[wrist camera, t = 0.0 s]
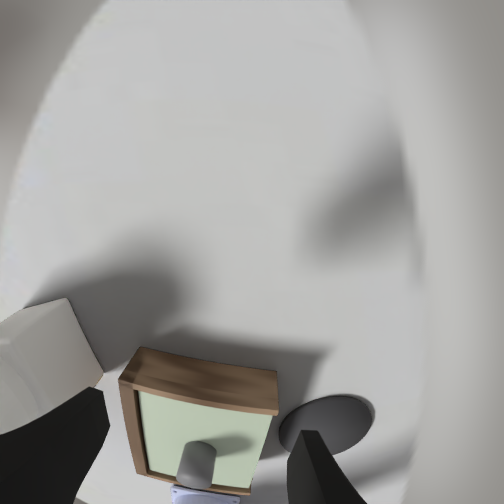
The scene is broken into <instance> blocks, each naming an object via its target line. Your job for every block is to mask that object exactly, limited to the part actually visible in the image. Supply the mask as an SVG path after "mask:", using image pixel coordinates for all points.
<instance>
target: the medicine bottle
mask: <svg viewBox="0 0 504 504" xmlns="http://www.w3.org/2000/svg"><path fill="white" fill-rule="evenodd" d="M103 374H104V372H103V370H102V368H101V366H100V364H99V363H98V361H97V359H96V357H95V355H94V353H93V351H92V349H91V347H90V346H89V344H88V342H87V340H86V338H85V335H84V333H83V331H82V329H81V327H80V325H79V323H78V321H77V318H76V316H75V314H74V312H73V309H72V307H71V305H70V302H69V300H68V299H67V298H62V299H58V300H55V301H51V302H47V303H44V304H40V305H36V306H33V307H29V308H25V309H22V310H19V311H17V312H16V313H14V314H13V315H11V316H10V317H8V318H7V319H5V320H4V321H2V322H1V323H0V434H4V433H6V432H9V431H12V430H14V429H17V428H19V427H21V426H23V425H26V424H28V423H30V422H31V421H33V420H35V419H37V418H39V417H41V416H43V415H44V414H46V413H48V412H50V411H51V410H53V409H54V408H56V407H58V406H59V405H61V404H62V403H64V402H66V401H67V400H69V399H70V398H72V397H73V396H75V395H76V394H78V393H79V392H81V391H82V390H84V389H86V388H87V387H89V386H90V387H92V388H94V387H95V386H96V384H97V383H98V382H99V380H100V379H101V377H102V376H103Z"/></svg>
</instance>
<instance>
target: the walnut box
mask: <svg viewBox="0 0 504 504" xmlns="http://www.w3.org/2000/svg"><path fill="white" fill-rule="evenodd" d="M118 383H119V390H120V397H121V403H122V409H123V414H124V420H125V425H126V430H127V435H128V440H129V444H130V449H131V453H132V457H133V461H134V465H135V469H136V473H137V474H140V475H144V476H147V477H151V478H154V479H158V480H162V481H166V482H170V483H174V484H178V485H182V484H181V483H179V482H178V481H177V479H176V476H171V475H167V474H163V473H159V472H156V471H152V470H150V469H149V463H148V458H147V452H146V446H145V440H144V433H143V426H142V418H141V410H140V401H139V392H138V391H142V392H145V393H149V394H153V395H157V396H161V397H165V398H169V399H173V400H178V401H182V402H187V403H192V404H197V405H202V406H207V407H213V408H219V409H225V410H232V411H239V412H246V413H254V414H263V415H273V416H277V415H278V412H279V401H278V384H277V371H270V370H261V369H254V368H247V367H240V366H233V365H227V364H221V363H215V362H209V361H204V360H199V359H193V358H188V357H183V356H179V355H174V354H169V353H165V352H161V351H156V350H152V349H148V348H144V347H139V349H138V350H137V352H136V353H135V355H134V356H133V358H132V359H131V360H130V362H129V363H128V365H127V366H126V368H125V369H124V371H123V372H122V374H121V375H120V377H119V378H118ZM252 480H253V478H252ZM251 482H252V481H251ZM183 486H184V485H183ZM204 490H209V491H216V492H223V493H230V494H239V495H249V496H250V493H251V484H250V486H249V488H241V487H233V486H225V485H218V484H212V485H211V487H209V488H207V489H204Z"/></svg>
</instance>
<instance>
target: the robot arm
mask: <svg viewBox="0 0 504 504" xmlns="http://www.w3.org/2000/svg"><path fill="white" fill-rule="evenodd" d="M109 428H110V423H109V419H108V414H107V410H106V405H105V400H104V395H103V391H101V390H98V389H95V388H92V387H90V386H89V387H87V388H86V389H84V390H82V391H81V392H79V393H78V394H76V395H75V396H73V397H72V398H70V399H69V400H67V401H66V402H64V403H62V404H61V405H59V406H58V407H56V408H54V409H53V410H51V411H50V412H48V413H46V414H44V415H43V416H41V417H39V418H37V419H35V420H33V421H31V422H30V423H28V424H26V425H23V426H21V427H19V428H17V429H14V430H12V431H9V432H6V433H4V434H0V504H73V502H74V500H75V497H76V494H77V492H78V490H79V488H80V486H81V484H82V482H83V480H84V478H85V476H86V475H87V473H88V471H89V469H90V468H91V466H92V464H93V462H94V460H95V459H96V457H97V455H98V453H99V451H100V450H101V448H102V446H103V443H104V441H105V438H106V436H107V433H108V430H109ZM287 490H288V499H289V504H367V503H366V502H365V501H364V500H363V498H362V497H361V496H360V495H359V494H358V492H357V491H356V490H355V489H354V487H353V486H352V485H351V483H350V482H349V481H348V479H347V478H346V476H345V475H344V473H343V472H342V470H341V469H340V467H339V466H338V464H337V463H336V461H335V459H334V458H333V456H332V454H331V453H330V451H329V449H328V448H327V446H326V444H325V442H324V440H323V438H322V437H321V435H320V433H319V432H318V430H301V431H300V433H299V435H298V438H297V440H296V442H295V445H294V447H293V449H292V451H291V454H290V456H289V458H288V460H287ZM171 496H172V504H239V502H240V498H239V497H237V496H229V495H221V494H215V493H208V492H202V491H197V490H192V489H187V488H182V487H178V486H171Z"/></svg>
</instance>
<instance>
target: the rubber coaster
mask: <svg viewBox="0 0 504 504" xmlns="http://www.w3.org/2000/svg"><path fill="white" fill-rule="evenodd" d="M371 422H372V416H371V413H370V411H369V409H368V407H367V406H366V405H365V404H364V403H363V402H361V401H359V400H357V399H354V398H351V397H344V396H333V397H326V398H321V399H317V400H314V401H311V402H308V403H306V404H304V405H302V406H300V407H298V408H297V409H295V410H294V411H292V412H291V413H290V414H289V415H288V416H287V417H286V418H285V419H284V421H283V422H282V424H281V426H280V430H279V438H280V442H281V444H282V446H283V447H284V448H285V449H286V450H287V451H289V452H291V451H292V449H293V447H294V445H295V442H296V440H297V438H298V435H299V433H300V431H301V430H318V432H319V433H320V435H321V437H322V438H323V440H324V442H325V444H326V446H327V448H328V449H329V451H330V453H331V454H332V455H335V454H338V453H341V452H343V451H345V450H347V449H349V448H351V447H352V446H354V445H355V444H357V443H358V442H359V441H360V440H361V439H363V437H364V436H365V435H366V434H367V432H368V431H369V429H370V426H371Z"/></svg>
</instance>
